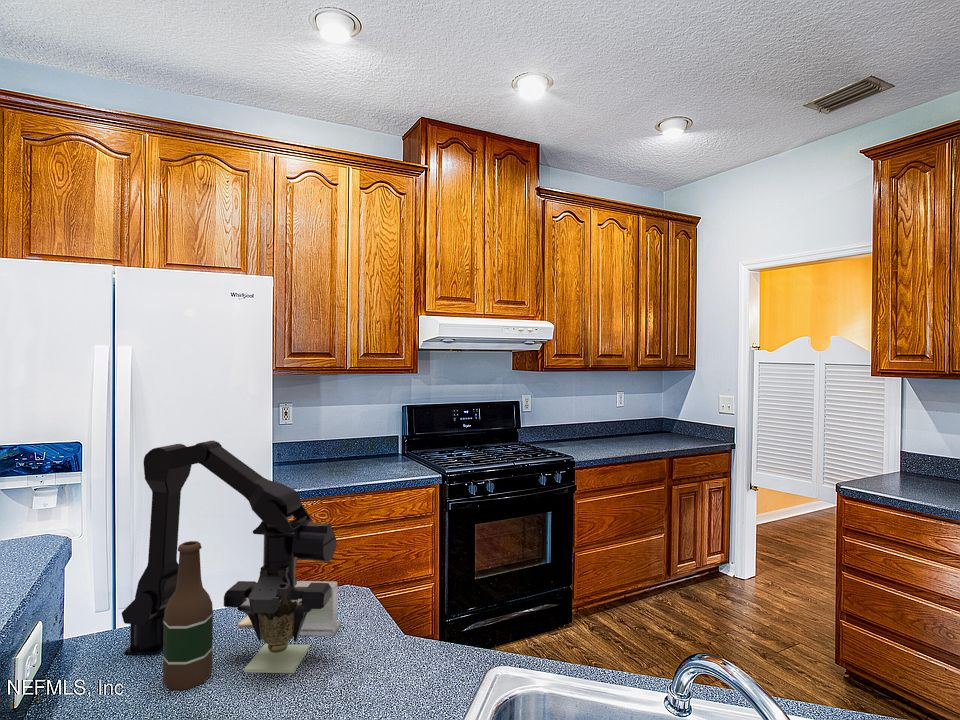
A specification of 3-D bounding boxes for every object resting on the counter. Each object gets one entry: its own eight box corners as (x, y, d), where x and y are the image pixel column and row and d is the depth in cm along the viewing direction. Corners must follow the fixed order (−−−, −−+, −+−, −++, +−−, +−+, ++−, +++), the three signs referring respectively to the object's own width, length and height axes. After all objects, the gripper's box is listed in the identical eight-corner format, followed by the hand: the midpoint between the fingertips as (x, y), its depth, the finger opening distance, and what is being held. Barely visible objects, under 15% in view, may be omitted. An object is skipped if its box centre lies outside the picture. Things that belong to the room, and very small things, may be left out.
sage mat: (244, 672, 100) (244, 669, 100) (264, 647, 109) (264, 644, 109) (293, 673, 99) (293, 669, 99) (309, 647, 108) (309, 644, 108)
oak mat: (237, 627, 117) (237, 624, 117) (255, 608, 126) (256, 606, 126) (279, 628, 117) (279, 625, 117) (294, 609, 126) (295, 606, 126)
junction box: (286, 635, 114) (286, 587, 114) (294, 623, 119) (295, 578, 119) (334, 635, 113) (334, 588, 113) (340, 624, 118) (341, 578, 118)
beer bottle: (165, 672, 99) (167, 539, 100) (213, 663, 102) (215, 534, 103) (159, 696, 92) (161, 552, 93) (210, 685, 95) (212, 547, 96)
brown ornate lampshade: (305, 640, 107) (305, 599, 108) (288, 660, 100) (289, 616, 100) (268, 638, 108) (269, 597, 108) (249, 658, 101) (250, 614, 101)
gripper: (209, 572, 96) (207, 661, 96) (314, 574, 96) (313, 664, 96) (238, 550, 108) (236, 631, 107) (332, 552, 107) (331, 633, 107)
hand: (278, 639), depth 104 cm, fingers closed on brown ornate lampshade, 6 cm apart
